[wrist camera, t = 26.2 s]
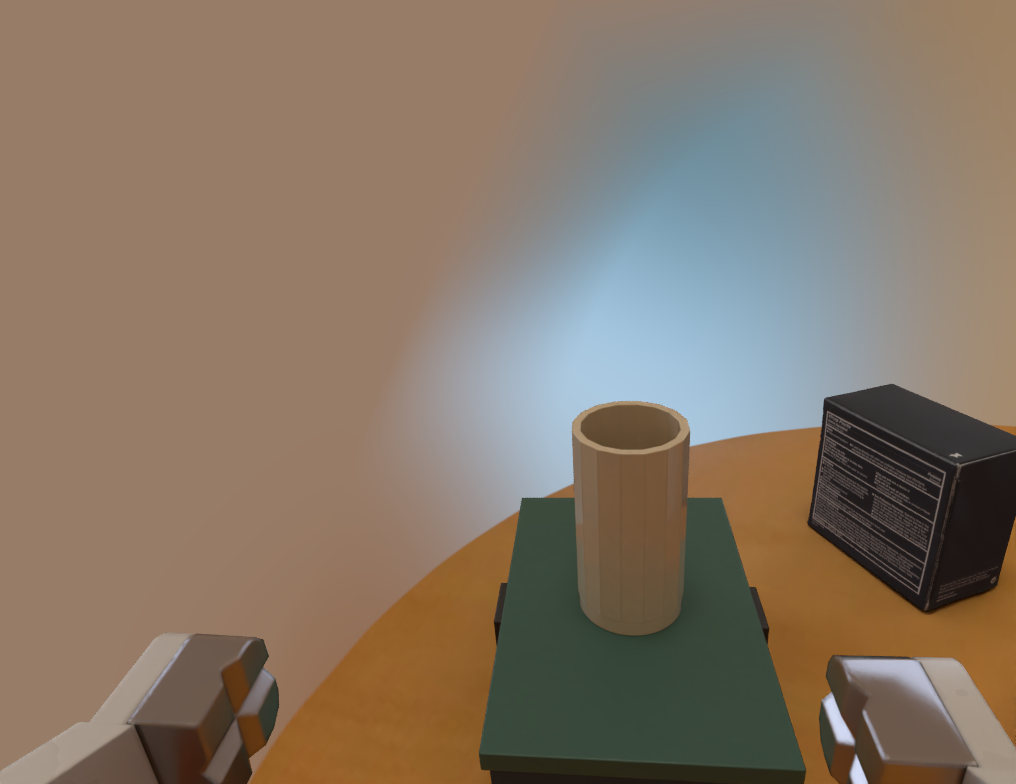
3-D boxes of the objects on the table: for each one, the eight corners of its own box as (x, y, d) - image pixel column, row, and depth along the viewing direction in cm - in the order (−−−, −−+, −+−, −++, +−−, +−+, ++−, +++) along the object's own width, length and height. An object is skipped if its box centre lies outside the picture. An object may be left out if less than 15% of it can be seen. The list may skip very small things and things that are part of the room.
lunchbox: (800, 885, 28) (819, 771, 26) (482, 861, 30) (467, 753, 27) (723, 586, 45) (729, 497, 42) (521, 582, 47) (514, 497, 44)
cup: (577, 634, 33) (570, 454, 29) (579, 565, 37) (573, 401, 33) (688, 637, 32) (696, 453, 28) (676, 566, 37) (681, 399, 33)
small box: (1005, 587, 43) (1046, 442, 39) (925, 616, 41) (959, 468, 37) (873, 503, 52) (894, 378, 48) (803, 523, 51) (819, 396, 46)
